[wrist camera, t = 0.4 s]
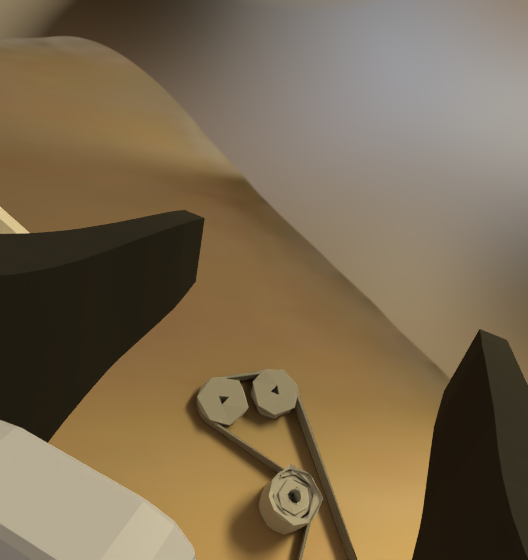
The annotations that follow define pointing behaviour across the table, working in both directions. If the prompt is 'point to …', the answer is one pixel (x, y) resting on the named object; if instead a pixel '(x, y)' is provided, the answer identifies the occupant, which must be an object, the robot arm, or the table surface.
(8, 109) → the table surface
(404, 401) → the table surface
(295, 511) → the pulley system
